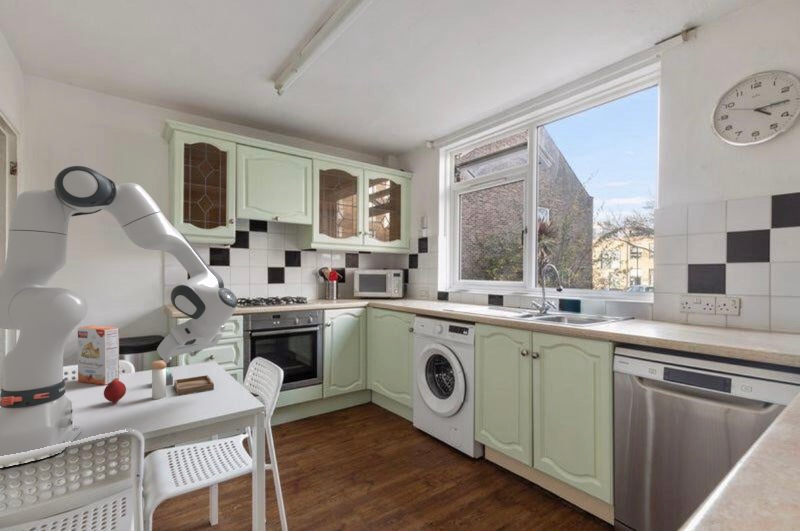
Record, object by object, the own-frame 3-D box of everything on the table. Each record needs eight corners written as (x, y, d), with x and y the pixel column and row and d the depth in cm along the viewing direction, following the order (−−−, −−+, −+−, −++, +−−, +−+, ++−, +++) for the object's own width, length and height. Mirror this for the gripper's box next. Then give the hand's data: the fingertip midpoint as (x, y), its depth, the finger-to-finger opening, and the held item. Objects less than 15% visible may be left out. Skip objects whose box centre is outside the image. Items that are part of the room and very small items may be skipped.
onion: (114, 406, 121) (114, 381, 121) (99, 405, 122) (99, 380, 122) (130, 400, 127) (130, 376, 127) (115, 399, 128) (115, 375, 128)
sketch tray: (213, 389, 138) (213, 383, 138) (177, 395, 132) (177, 389, 132) (207, 380, 149) (207, 375, 149) (174, 385, 142) (174, 380, 142)
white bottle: (166, 397, 129) (166, 362, 129) (151, 400, 127) (151, 364, 127) (165, 394, 133) (165, 359, 133) (151, 396, 130) (151, 361, 130)
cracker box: (76, 382, 146) (76, 327, 146) (93, 378, 152) (93, 324, 151) (103, 385, 142) (103, 329, 142) (119, 381, 147) (119, 326, 147)
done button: (170, 380, 144) (170, 369, 144) (156, 382, 141) (156, 371, 141) (169, 377, 147) (169, 366, 147) (155, 379, 145) (155, 368, 145)
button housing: (172, 384, 143) (172, 376, 143) (153, 387, 140) (153, 379, 140) (171, 380, 148) (171, 372, 148) (152, 383, 145) (152, 375, 145)
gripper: (222, 318, 133) (201, 344, 137) (167, 327, 114) (144, 357, 118) (232, 332, 132) (210, 358, 135) (178, 343, 113) (155, 373, 116)
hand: (179, 358), depth 126 cm, fingers open, 8 cm apart
